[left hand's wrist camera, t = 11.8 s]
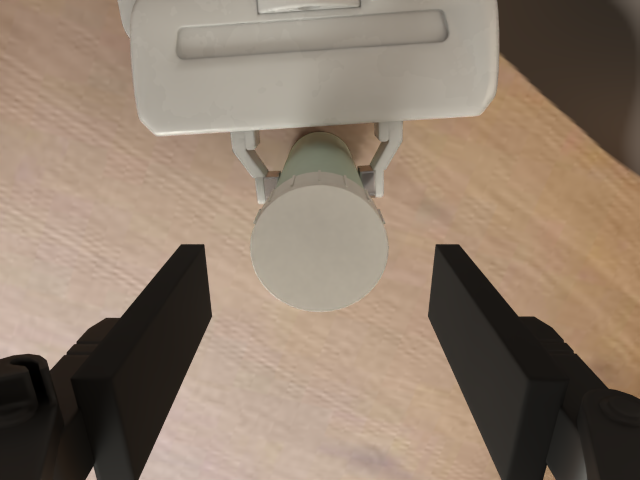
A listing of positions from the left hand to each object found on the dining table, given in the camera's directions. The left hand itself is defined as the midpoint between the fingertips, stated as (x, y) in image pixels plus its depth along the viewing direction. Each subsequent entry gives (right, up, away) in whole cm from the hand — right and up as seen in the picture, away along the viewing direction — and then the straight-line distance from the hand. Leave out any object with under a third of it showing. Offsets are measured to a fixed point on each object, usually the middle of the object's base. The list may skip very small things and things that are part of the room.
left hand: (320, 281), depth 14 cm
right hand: (0, +4, +13) cm, 13 cm away
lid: (0, +1, +3) cm, 3 cm away
